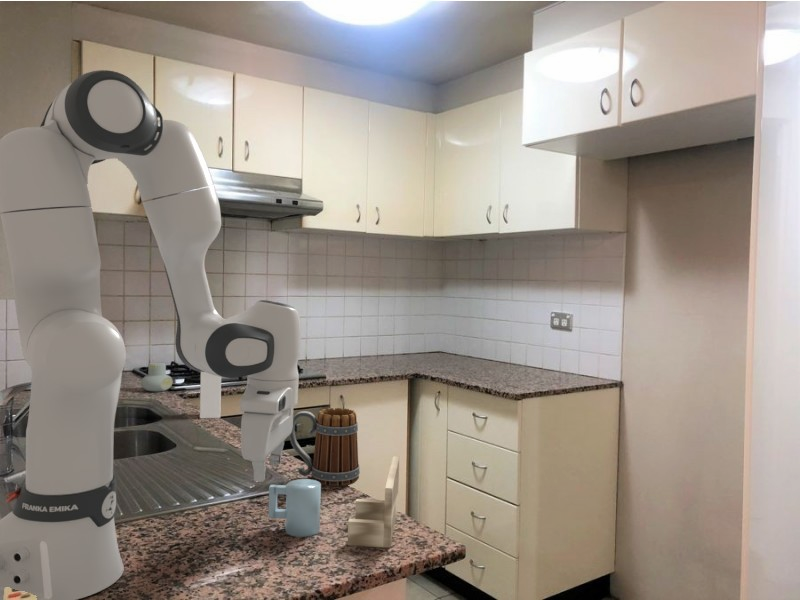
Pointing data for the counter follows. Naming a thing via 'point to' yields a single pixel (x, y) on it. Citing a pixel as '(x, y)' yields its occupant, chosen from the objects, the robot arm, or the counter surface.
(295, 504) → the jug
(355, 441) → the mug
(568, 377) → the counter surface
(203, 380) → the milk
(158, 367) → the air freshener
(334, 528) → the counter surface
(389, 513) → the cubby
